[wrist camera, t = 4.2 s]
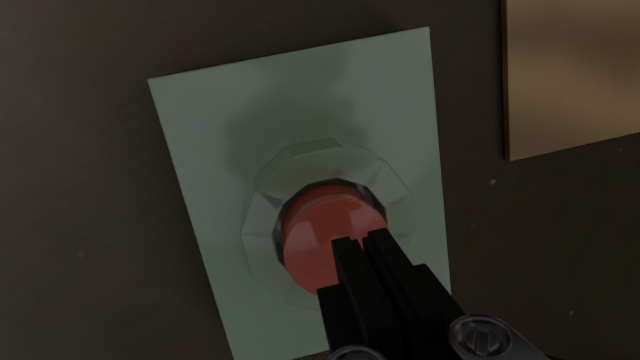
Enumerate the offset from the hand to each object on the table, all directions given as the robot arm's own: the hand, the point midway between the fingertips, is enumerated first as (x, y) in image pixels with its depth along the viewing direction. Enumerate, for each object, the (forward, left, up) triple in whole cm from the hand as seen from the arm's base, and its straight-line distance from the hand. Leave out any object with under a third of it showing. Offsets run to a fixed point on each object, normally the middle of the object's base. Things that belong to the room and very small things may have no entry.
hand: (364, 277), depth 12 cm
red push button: (0, 0, -4) cm, 4 cm away
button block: (0, 0, -9) cm, 9 cm away
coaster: (-5, +16, -9) cm, 19 cm away
